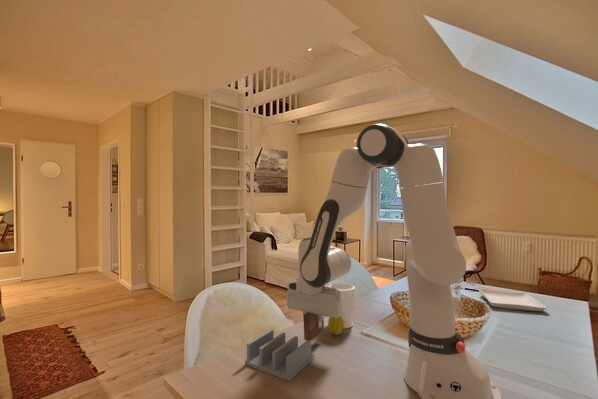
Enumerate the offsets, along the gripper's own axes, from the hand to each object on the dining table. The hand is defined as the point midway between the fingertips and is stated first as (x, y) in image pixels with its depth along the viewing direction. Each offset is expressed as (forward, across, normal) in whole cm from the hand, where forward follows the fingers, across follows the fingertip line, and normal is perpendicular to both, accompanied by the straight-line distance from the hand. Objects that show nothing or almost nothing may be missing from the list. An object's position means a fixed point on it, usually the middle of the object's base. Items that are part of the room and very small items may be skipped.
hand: (314, 325), depth 102 cm
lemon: (+7, -3, -10) cm, 13 cm away
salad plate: (+10, -56, -84) cm, 101 cm away
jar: (+7, 0, -20) cm, 21 cm away
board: (+3, 0, 0) cm, 3 cm away
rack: (+6, +4, +15) cm, 17 cm away
